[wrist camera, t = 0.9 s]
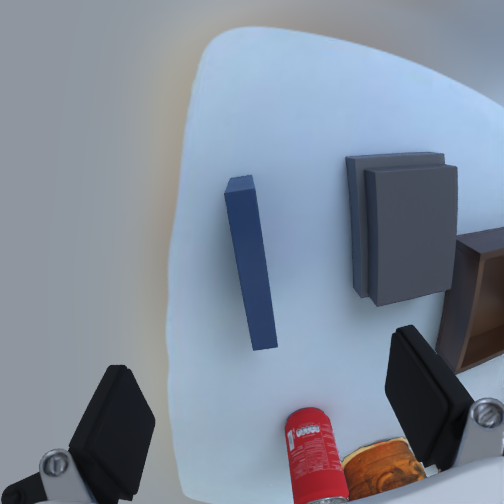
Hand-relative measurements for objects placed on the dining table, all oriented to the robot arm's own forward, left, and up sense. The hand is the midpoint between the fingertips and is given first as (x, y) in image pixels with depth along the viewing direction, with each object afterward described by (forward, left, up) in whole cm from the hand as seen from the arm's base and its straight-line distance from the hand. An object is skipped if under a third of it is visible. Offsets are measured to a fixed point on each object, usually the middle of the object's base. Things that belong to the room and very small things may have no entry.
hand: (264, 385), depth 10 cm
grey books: (0, +12, -15) cm, 19 cm away
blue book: (0, 0, -15) cm, 15 cm away
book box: (+9, +27, -15) cm, 32 cm away
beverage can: (+22, +3, -15) cm, 27 cm away
